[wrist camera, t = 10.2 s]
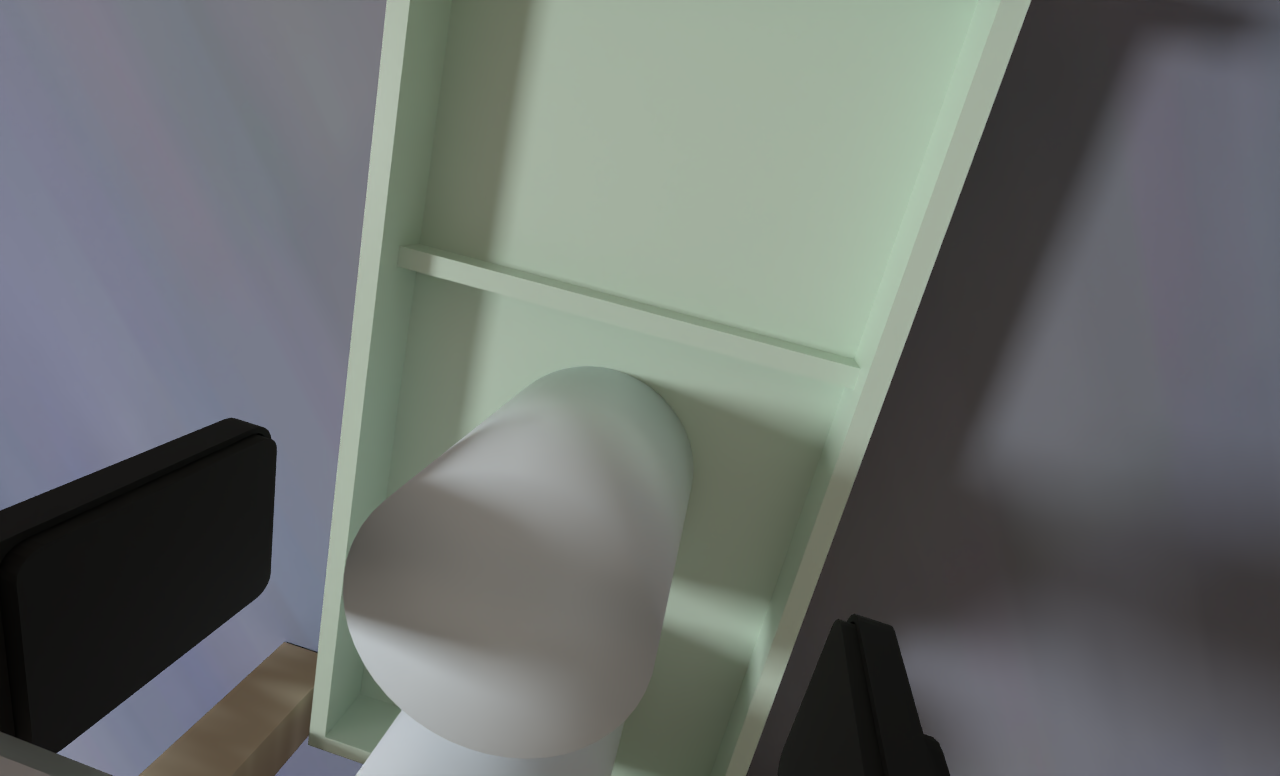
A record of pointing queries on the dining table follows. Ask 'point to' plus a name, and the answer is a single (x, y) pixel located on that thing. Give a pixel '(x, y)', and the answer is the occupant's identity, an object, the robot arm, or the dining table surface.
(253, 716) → the miniature wooden table
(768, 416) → the tray
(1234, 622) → the dining table surface
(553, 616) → the white piece
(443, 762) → the white rounded cylinder
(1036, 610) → the dining table surface
